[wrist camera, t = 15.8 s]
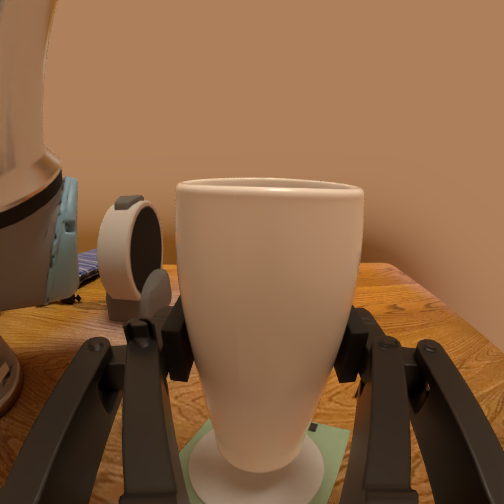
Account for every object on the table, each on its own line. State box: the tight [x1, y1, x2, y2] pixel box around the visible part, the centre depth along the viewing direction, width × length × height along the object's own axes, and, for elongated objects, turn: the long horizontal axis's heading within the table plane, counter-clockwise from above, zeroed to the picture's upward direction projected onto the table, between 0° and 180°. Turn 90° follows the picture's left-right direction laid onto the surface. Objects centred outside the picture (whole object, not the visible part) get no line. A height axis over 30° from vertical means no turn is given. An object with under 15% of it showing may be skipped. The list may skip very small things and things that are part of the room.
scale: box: [179, 418, 350, 504], centre depth 16 cm, size 12×12×3 cm
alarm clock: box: [97, 195, 172, 322], centre depth 41 cm, size 16×10×18 cm, turn 0°
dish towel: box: [78, 249, 99, 284], centre depth 58 cm, size 17×24×3 cm
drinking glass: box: [175, 178, 364, 473], centre depth 12 cm, size 7×7×15 cm
